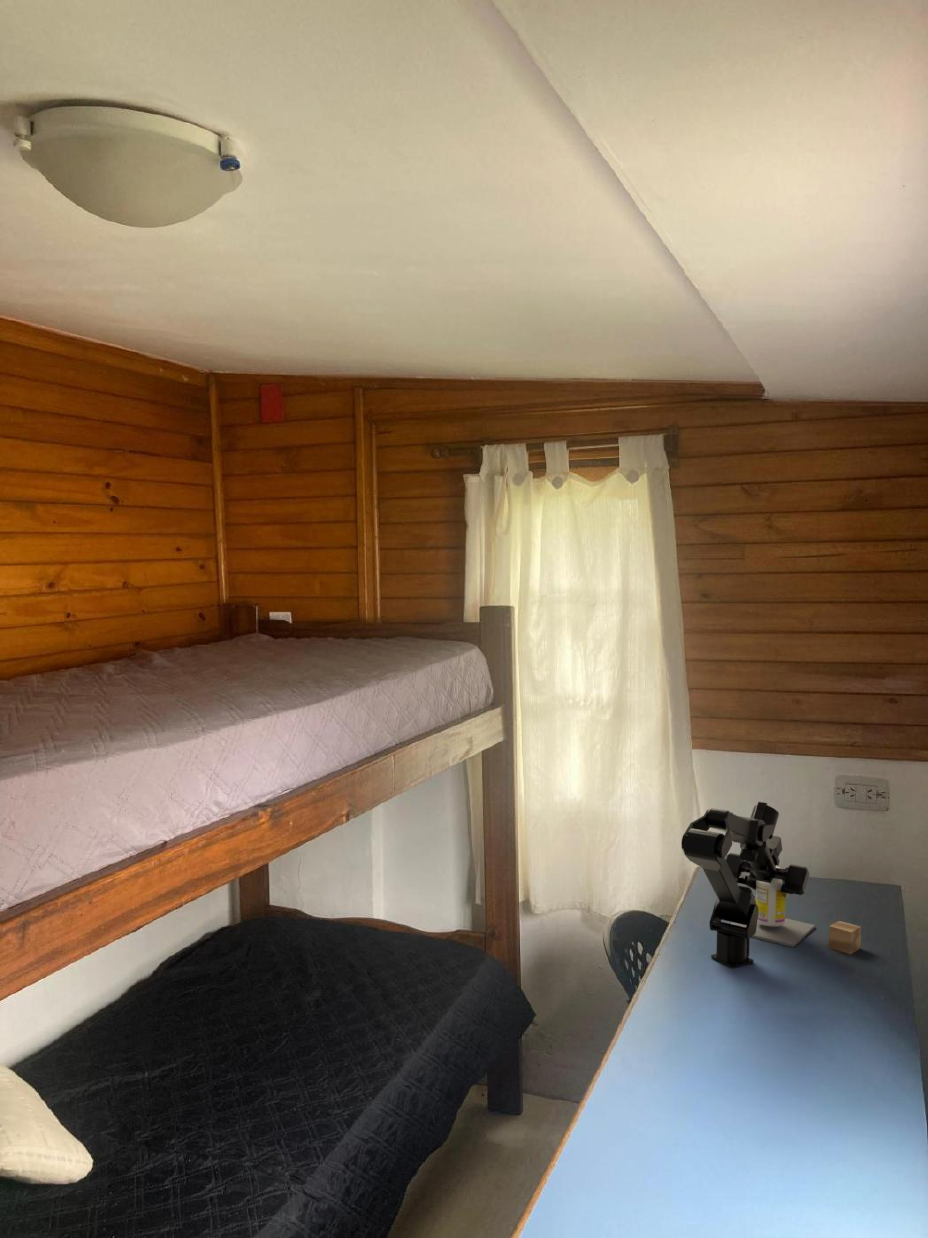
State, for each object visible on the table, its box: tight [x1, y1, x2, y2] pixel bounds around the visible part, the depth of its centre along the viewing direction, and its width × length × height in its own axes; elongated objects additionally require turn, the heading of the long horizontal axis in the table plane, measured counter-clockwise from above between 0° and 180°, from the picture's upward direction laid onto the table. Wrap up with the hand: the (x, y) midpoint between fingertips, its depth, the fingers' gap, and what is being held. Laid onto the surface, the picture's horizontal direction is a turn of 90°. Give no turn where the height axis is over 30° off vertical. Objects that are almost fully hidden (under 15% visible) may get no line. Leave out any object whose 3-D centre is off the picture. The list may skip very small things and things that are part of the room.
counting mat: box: [729, 917, 816, 948], centre depth 221 cm, size 16×16×1 cm
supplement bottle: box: [755, 866, 787, 927], centre depth 221 cm, size 7×7×13 cm
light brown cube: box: [827, 920, 862, 955], centre depth 210 cm, size 5×5×5 cm
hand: (772, 892), depth 222 cm, fingers closed on supplement bottle, 7 cm apart
